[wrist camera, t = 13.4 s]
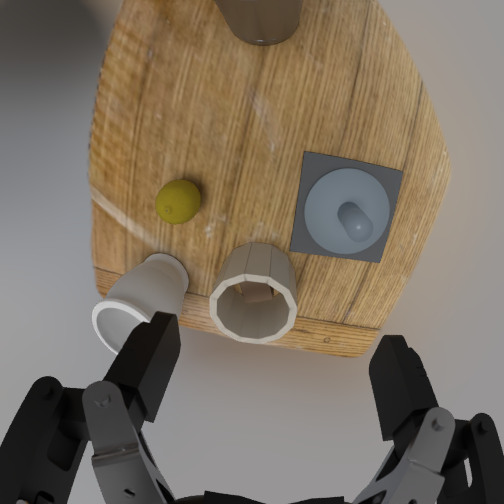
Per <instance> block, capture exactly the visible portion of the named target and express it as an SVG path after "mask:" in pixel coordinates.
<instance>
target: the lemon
mask: <svg viewBox="0 0 504 504" xmlns="http://www.w3.org/2000/svg"><path fill="white" fill-rule="evenodd" d="M200 204H201V196H200V192H199V190H198V188H197V187H196V186H195V185H194V184H193V183H191V182H189V181H187V180H183V179H181V180H174V181H171V182H169V183H167V184H166V185H164V186H163V188H162V189H161V190H160V191H159V193H158V195H157V197H156V202H155V206H156V211H157V213H158V215H159V217H160V218H161V219H162V220H163V221H165V222H167V223H169V224H175V225H176V224H182V223H185V222H187V221H189V220H190V219H192V218H193V217H194V216H195V215H196V213H197V212H198V210H199V207H200Z"/></svg>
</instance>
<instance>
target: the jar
mask: <svg viewBox="0 0 504 504" xmlns="http://www.w3.org/2000/svg"><path fill="white" fill-rule="evenodd" d="M188 284H189V279H188V275H187V272H186V270H185V268H184V267H183V265H182V264H181V263H180V262H179V261H178V260H177V259H175V258H174V257H172V256H170V255H167V254H162V253H158V254H153V255H151V256H149V257H148V258H147V259H146V260H145V261H144V262H143V263H141V264H139V265H137V266H136V267H134V268H133V269H132V270H130V271H128V272H127V273H125V274H124V275H123V276H122V277H120V278H119V279H118V280H117V281H116V282H115V284H114V285H113V286H112V288H111V289H110V290H109V292H108V294H107V295H106V297H105V299H103V300H101V301H99V302H98V303H97V305H96V306H95V308H94V309H93V312H92V323H93V326H94V329H95V331H96V333H97V335H98V336H99V338H100V339H101V341H102V342H103V343H104V344H105V345H106V346H107V347H108V348H109V349H110V350H111V351H113V352H114V353H115V354H116V355H118V353H119V351H120V350H121V349H122V346H123V345H124V343H125V341H127V338H128V336H129V335H130V333H131V331H132V330H133V329H134V328H135V327H136V326H137V325H139V324H140V323H141V322H143V321H144V322H148V323H149V322H150V321H151V319H152V317H153V316H154V314H155V312H156V311H161V312H167V313H172V314H176V315H177V319H178V320H179V317H180V314H181V309H182V305H183V301H184V293H185V292H186V290H187V288H188Z"/></svg>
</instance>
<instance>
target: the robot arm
mask: <svg viewBox="0 0 504 504" xmlns="http://www.w3.org/2000/svg"><path fill="white" fill-rule="evenodd" d="M214 1H215V3H216V4H217V6H218V8H219V9H220V11H221V13H222V15H223V16H224V18H225V20H226V22H227V24H228V25H229V27H230V29H231V31H232V32H233V33H234V34H235V35H236V36H237V37H238V38H239V39H241V40H243V41H245V42H247V43H250V44H254V45H272V44H277V43H279V42H282V41H284V40H286V39H287V38H289V37H290V36H291V35H292V34H293V33H294V32H295V30H296V29H297V26H298V23H299V18H300V12H301V7H302V1H303V0H214ZM180 347H181V342H180V334H179V327H178V319H177V315H176V314H172V313H167V312H161V311H156V312H155V314H154V316H153V317H152V319H151V321H150V322H149V323H148V322H144V321H143V322H141V323H140V324H139V325H137V326H136V327H135V328H134V329H133V330H132V331H131V333H130V335H129V336H128V338H127V341H125V343H124V345H123V346H122V349H121V350H120V351H119V353H118V355H117V357H116V358H115V360H114V362H113V363H112V365H111V367H110V369H109V370H108V372H107V374H106V376H105V377H104V379H103V380H102V381H97V382H95V383H92V384H91V385H89V386H88V387H87V388H86V389H78V388H67V387H63V386H62V385H61V383H60V382H59V381H58V380H57V379H56V378H54V377H51V376H45V377H42V378H40V379H38V380H37V381H35V382H34V384H33V385H32V387H31V388H30V390H29V392H28V394H27V395H26V397H25V399H24V401H23V402H22V404H21V406H20V408H19V410H18V412H17V414H16V415H15V417H14V419H13V421H12V423H11V425H10V427H9V429H8V432H7V433H6V435H5V438H4V440H3V442H2V444H1V446H0V504H67V501H68V498H69V495H70V492H71V488H72V485H73V482H74V479H75V476H76V473H77V470H78V467H79V465H80V462H81V459H82V456H83V453H84V451H85V448H86V445H87V442H88V441H92V445H93V449H94V455H93V456H92V458H91V460H92V466H93V469H94V472H95V475H96V478H97V481H98V484H99V487H100V489H101V492H102V495H103V497H104V500H105V502H106V504H265V503H261V502H258V501H254V500H251V499H248V498H245V497H242V496H237V495H229V494H222V493H216V492H210V491H205V493H204V495H197V496H189V497H184V498H180V499H177V500H176V499H175V497H174V495H173V493H172V492H171V490H170V488H169V486H168V485H167V483H166V481H165V479H164V477H163V476H162V474H161V473H160V471H159V469H158V467H157V465H156V463H155V460H154V458H153V456H152V454H151V452H150V449H149V447H148V445H147V442H146V440H145V438H144V435H143V433H142V430H141V428H142V425H143V423H144V420H145V421H149V422H152V423H153V422H154V420H155V417H156V415H157V412H158V409H159V406H160V404H161V401H162V399H163V396H164V393H165V391H166V388H167V385H168V383H169V380H170V377H171V375H172V372H173V369H174V367H175V364H176V362H177V359H178V357H179V353H180ZM423 367H424V366H423V364H422V361H421V359H420V357H419V355H418V354H417V353H416V352H415V351H414V350H413V349H412V348H408V346H407V343H406V341H405V339H404V337H403V336H402V335H384V336H383V337H382V339H381V341H380V343H379V345H378V347H377V349H376V351H375V353H374V355H373V357H372V359H371V361H370V364H369V376H370V380H371V385H372V389H373V393H374V398H375V402H376V407H377V412H378V417H379V421H380V427H381V431H382V437H383V441H388V440H393V441H394V445H393V446H392V448H391V449H390V451H389V453H388V455H387V456H386V458H385V460H384V461H383V463H382V465H381V466H380V468H379V470H378V471H377V473H376V475H375V476H374V478H373V479H372V481H371V482H370V484H369V485H368V486H367V487H366V488H365V489H364V490H363V491H362V492H361V493H360V494H359V495H358V496H357V497H356V499H355V500H354V501H353V502H352V503H349V502H344V496H341V497H330V498H314V499H313V498H312V499H308V500H304V501H300V502H295V503H291V504H435V501H436V500H437V504H504V455H503V451H502V447H501V444H500V440H499V437H498V433H497V430H496V427H495V424H494V421H493V420H492V418H491V417H490V416H489V415H487V414H485V413H478V414H476V415H475V416H474V417H473V418H472V419H471V420H470V421H467V420H458V419H454V417H453V416H452V414H451V413H450V412H449V411H448V410H446V409H444V408H441V407H439V405H438V403H437V400H436V397H435V394H434V392H433V389H432V386H431V384H430V381H429V379H428V377H427V374H426V371H425V369H424V368H423ZM467 458H469V463H470V468H471V473H472V484H471V486H470V487H468V482H467V475H466V470H465V465H464V460H466V459H467Z"/></svg>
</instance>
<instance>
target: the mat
mask: <svg viewBox="0 0 504 504" xmlns="http://www.w3.org/2000/svg"><path fill="white" fill-rule="evenodd" d="M341 168H355V169H359V170H362V171H364V172H367V173H368V174H370V175H371V176H373V177H374V178H375V179H377V180H378V181H379V183H380V184H381V185H382V186H383V188H384V190H385V192H386V194H387V197H388V200H389V208H390V211H389V219H388V223H387V226H386V228H385V230H384V232H383V233H382V235H381V236H380V238H379V239H378V240H377V241H376V242H375V243H374V244H372V245H371V246H370V247H368V248H366V249H365V250H362V251H360V252H357V253H352V254H338V253H334V252H331V251H328V250H326V249H324V248H323V247H321V246H320V245H319V244H318V243H317V242H316V241H315V240H314V239H313V238H312V236H311V235H310V233H309V231H308V229H307V226H306V222H305V217H304V207H305V201H306V198H307V195H308V193H309V191H310V189H311V188H312V186H313V185H314V184H315V182H316V181H317V180H318V179H320V178H321V177H322V176H323V175H325V174H327V173H328V172H331V171H333V170H336V169H341ZM402 175H403V172H402V171H399V170H395V169H391V168H387V167H382V166H378V165H374V164H370V163H365V162H360V161H356V160H351V159H346V158H341V157H335V156H330V155H324V154H318V153H312V152H306V151H304V157H303V164H302V171H301V179H300V186H299V192H298V199H297V206H296V212H295V219H294V225H293V232H292V238H291V244H290V251H292V252H300V253H308V254H315V255H323V256H330V257H338V258H346V259H353V260H361V261H368V262H376V263H380V261H381V258H382V255H383V251H384V248H385V245H386V241H387V238H388V234H389V230H390V227H391V223H392V219H393V215H394V211H395V207H396V203H397V199H398V194H399V190H400V185H401V180H402Z"/></svg>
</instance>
